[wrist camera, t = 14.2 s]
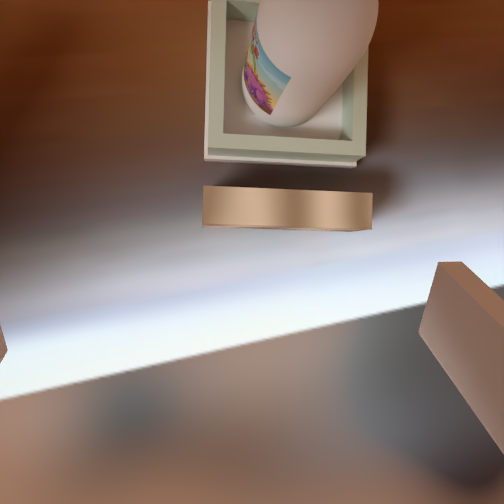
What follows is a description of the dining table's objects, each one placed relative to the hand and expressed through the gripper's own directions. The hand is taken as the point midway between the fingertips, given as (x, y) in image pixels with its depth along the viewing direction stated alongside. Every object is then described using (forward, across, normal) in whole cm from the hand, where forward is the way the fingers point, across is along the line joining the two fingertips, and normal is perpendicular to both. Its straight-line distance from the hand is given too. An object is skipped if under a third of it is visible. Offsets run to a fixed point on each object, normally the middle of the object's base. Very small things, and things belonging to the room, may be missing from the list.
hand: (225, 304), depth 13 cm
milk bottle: (+30, +7, +2) cm, 31 cm away
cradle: (+31, +7, +2) cm, 32 cm away
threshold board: (+26, +7, -8) cm, 28 cm away
